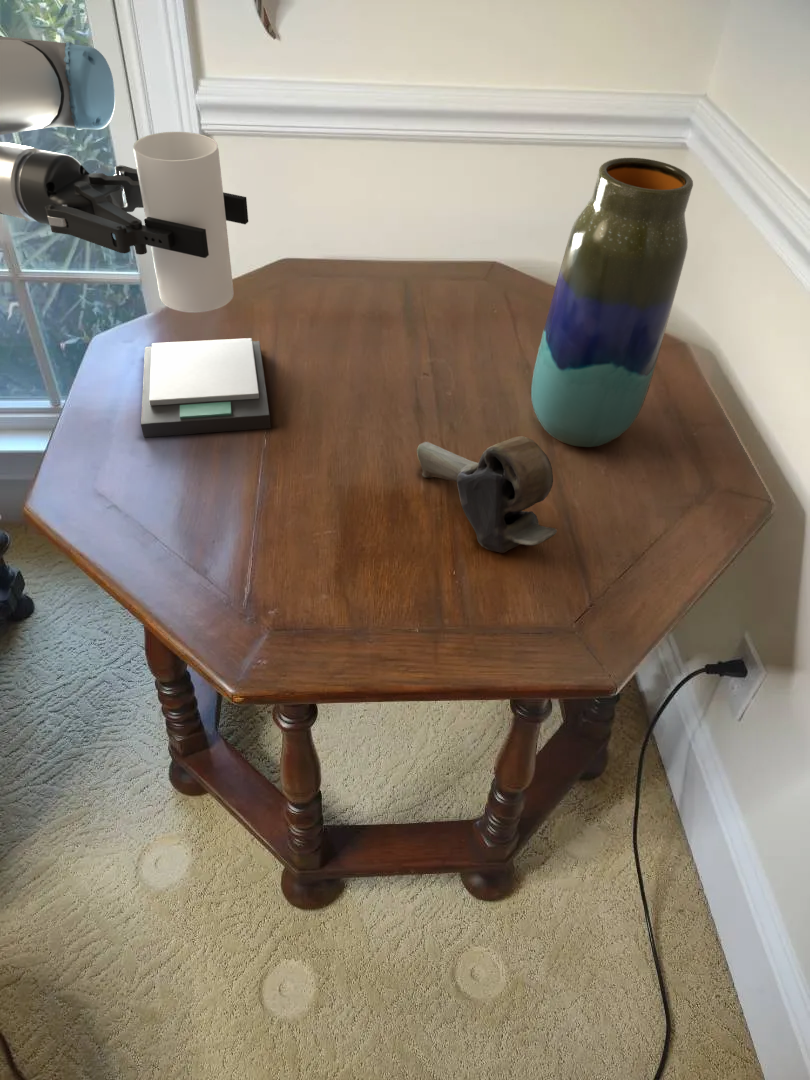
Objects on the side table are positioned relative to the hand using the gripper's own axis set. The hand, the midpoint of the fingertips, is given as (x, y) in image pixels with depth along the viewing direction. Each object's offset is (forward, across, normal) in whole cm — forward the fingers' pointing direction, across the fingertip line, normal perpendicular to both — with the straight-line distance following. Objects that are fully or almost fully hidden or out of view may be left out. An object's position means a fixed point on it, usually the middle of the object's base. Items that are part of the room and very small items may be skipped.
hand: (226, 226), depth 81 cm
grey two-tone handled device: (+33, +8, -23) cm, 41 cm away
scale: (-6, -1, -23) cm, 24 cm away
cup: (-5, 0, -9) cm, 10 cm away
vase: (+40, -13, -23) cm, 48 cm away
